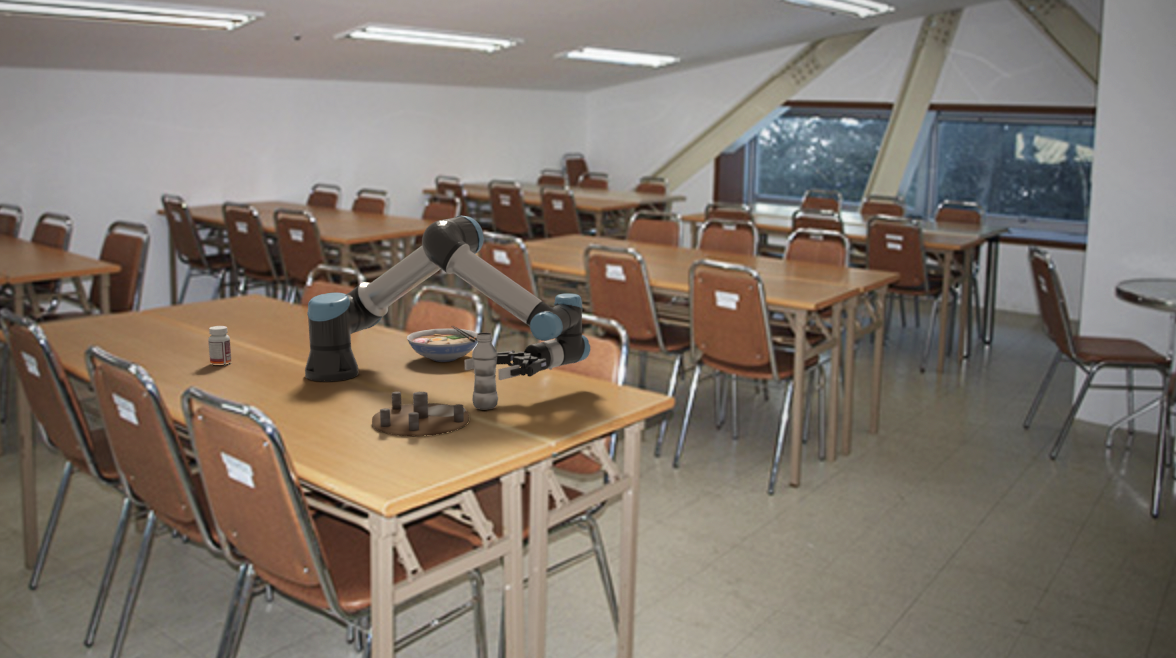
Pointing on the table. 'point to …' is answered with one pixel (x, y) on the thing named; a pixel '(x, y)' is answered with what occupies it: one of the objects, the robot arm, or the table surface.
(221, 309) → the table surface
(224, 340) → the pill bottle
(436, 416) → the board
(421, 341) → the ramen bowl
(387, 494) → the table surface
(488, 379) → the plastic bottle
